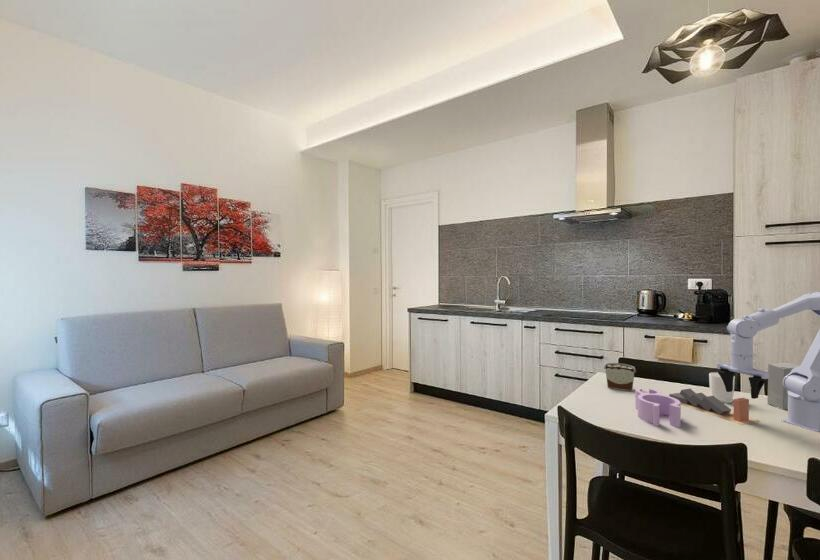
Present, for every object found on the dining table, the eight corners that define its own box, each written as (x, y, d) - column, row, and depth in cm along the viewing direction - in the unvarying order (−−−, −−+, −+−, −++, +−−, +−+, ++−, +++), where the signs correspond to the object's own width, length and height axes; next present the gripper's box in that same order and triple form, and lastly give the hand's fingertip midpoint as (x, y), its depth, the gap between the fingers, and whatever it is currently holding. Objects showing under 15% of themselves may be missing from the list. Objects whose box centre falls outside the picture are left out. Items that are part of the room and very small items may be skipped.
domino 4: (731, 409, 138) (713, 395, 144) (722, 411, 136) (704, 397, 142) (729, 413, 139) (710, 399, 145) (720, 415, 137) (701, 400, 143)
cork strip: (760, 422, 132) (760, 421, 132) (742, 425, 129) (742, 424, 129) (684, 398, 156) (684, 397, 156) (667, 400, 153) (667, 400, 153)
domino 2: (706, 402, 146) (690, 388, 152) (697, 403, 144) (681, 389, 150) (704, 405, 147) (687, 391, 153) (695, 407, 145) (679, 393, 151)
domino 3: (719, 406, 142) (701, 392, 148) (710, 407, 140) (692, 394, 146) (717, 409, 142) (699, 396, 148) (708, 411, 141) (690, 397, 147)
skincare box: (787, 403, 149) (787, 361, 148) (806, 410, 142) (807, 366, 141) (765, 403, 148) (765, 362, 148) (784, 410, 141) (784, 367, 141)
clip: (626, 405, 150) (626, 387, 150) (663, 407, 147) (663, 389, 147) (646, 426, 130) (646, 405, 130) (689, 428, 128) (689, 407, 127)
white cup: (725, 397, 156) (725, 372, 156) (739, 404, 149) (740, 378, 148) (704, 397, 157) (704, 372, 157) (717, 403, 149) (717, 377, 149)
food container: (636, 387, 171) (636, 364, 171) (636, 391, 166) (636, 367, 165) (605, 383, 177) (605, 361, 177) (603, 387, 172) (603, 364, 172)
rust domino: (748, 419, 133) (748, 399, 133) (739, 421, 131) (739, 400, 131) (742, 417, 135) (743, 397, 134) (733, 419, 133) (733, 399, 133)
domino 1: (695, 398, 150) (677, 392, 156) (686, 399, 148) (669, 394, 155) (695, 402, 150) (677, 397, 157) (686, 404, 148) (669, 398, 155)
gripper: (710, 351, 138) (710, 390, 138) (758, 360, 124) (758, 403, 125) (724, 349, 140) (724, 387, 141) (773, 358, 126) (773, 400, 127)
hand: (741, 394), depth 133 cm, fingers open, 7 cm apart
